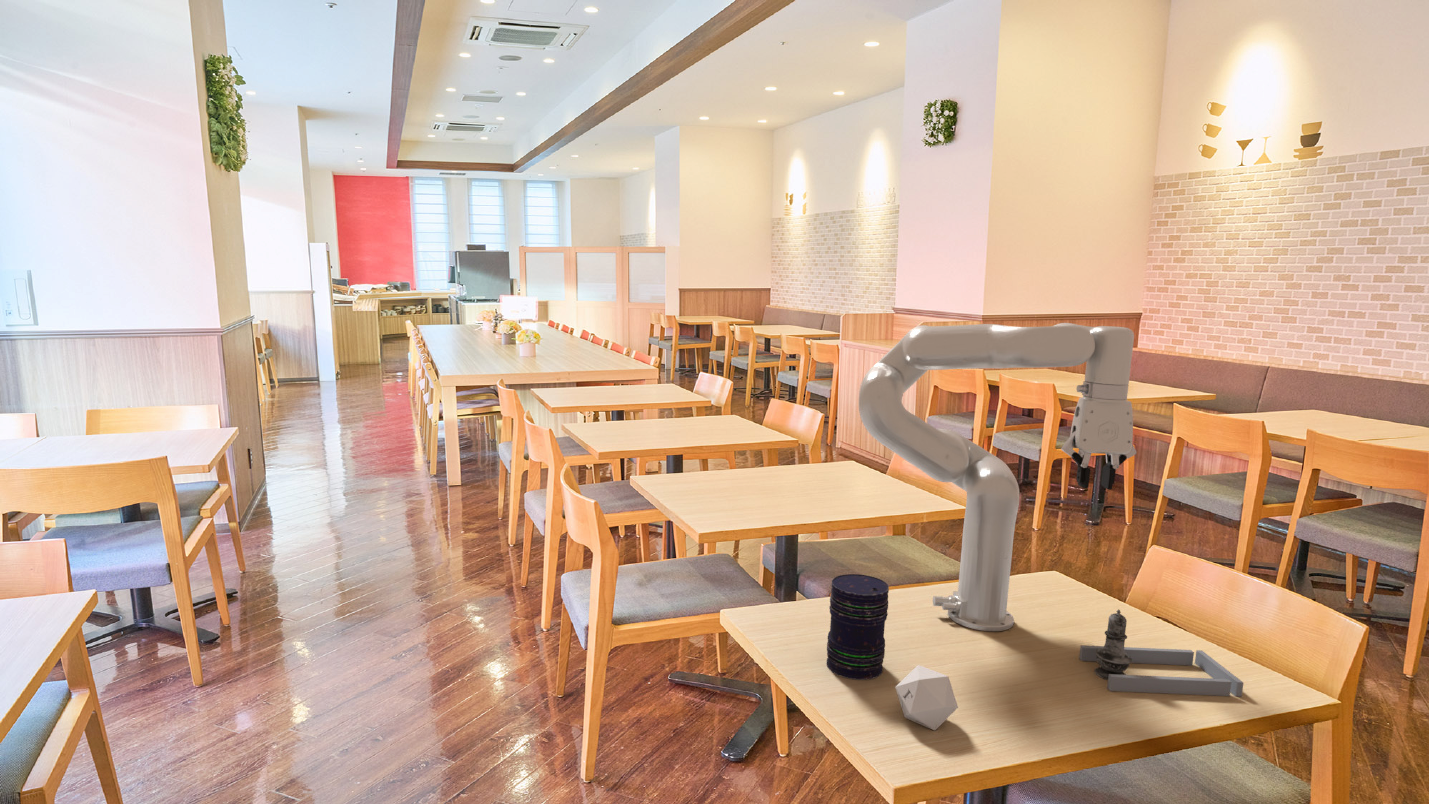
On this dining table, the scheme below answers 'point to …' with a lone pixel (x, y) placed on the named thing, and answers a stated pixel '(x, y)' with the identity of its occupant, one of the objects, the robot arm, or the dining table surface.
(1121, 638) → the dark ringed finial
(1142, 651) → the frame
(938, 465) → the robot arm
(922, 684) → the die
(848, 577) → the dark blue cylinder
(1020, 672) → the dining table surface
